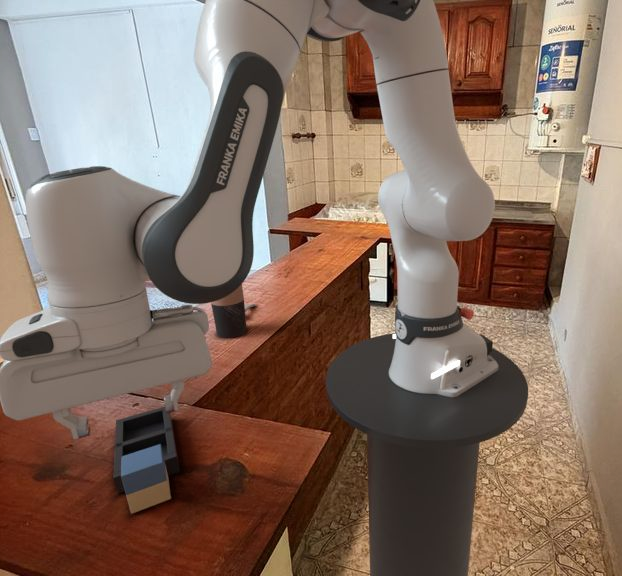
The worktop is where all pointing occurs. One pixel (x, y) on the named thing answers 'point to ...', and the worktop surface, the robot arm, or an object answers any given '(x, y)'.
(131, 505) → the pad beige
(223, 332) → the travel mug
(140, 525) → the worktop surface
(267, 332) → the worktop surface
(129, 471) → the pad blue
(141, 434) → the backing frame
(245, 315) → the spoon
